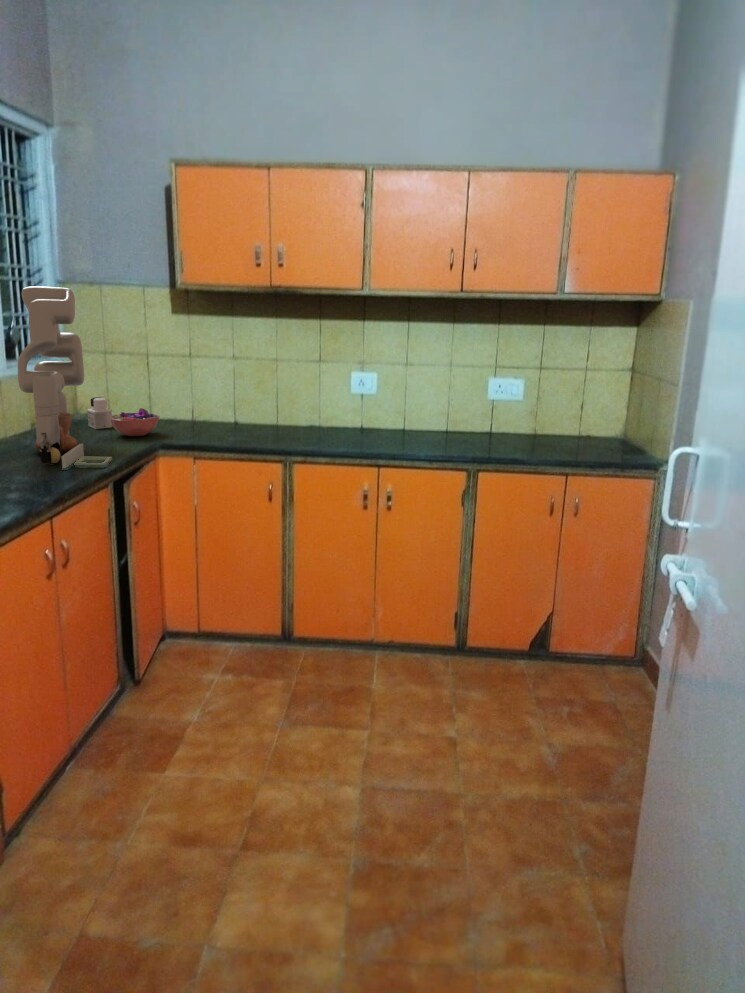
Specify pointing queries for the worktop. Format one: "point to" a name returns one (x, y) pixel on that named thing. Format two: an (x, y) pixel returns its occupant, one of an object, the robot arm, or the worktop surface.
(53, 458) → the ball
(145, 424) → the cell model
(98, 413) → the container
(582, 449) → the worktop surface
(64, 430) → the ceramic jug
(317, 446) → the worktop surface
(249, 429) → the worktop surface
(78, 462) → the tray
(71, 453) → the wall
